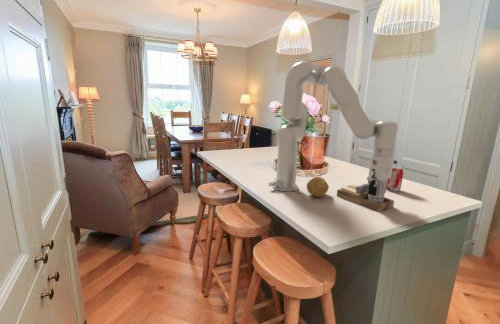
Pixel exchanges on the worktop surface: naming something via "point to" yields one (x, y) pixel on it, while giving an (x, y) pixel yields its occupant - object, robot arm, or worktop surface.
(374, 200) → the energy drink can
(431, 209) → the worktop surface
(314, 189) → the potato
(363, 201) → the wooden tray
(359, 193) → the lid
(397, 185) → the soda can
